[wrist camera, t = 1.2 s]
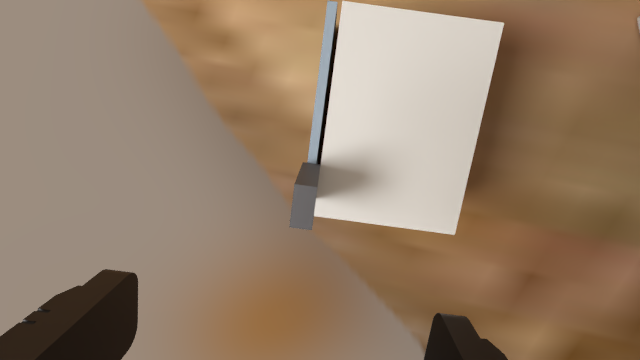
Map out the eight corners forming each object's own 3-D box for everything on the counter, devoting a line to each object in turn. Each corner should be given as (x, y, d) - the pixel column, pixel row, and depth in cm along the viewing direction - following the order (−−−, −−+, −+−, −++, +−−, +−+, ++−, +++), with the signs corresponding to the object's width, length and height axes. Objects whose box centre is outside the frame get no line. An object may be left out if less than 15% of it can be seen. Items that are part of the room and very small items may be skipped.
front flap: (325, 27, 32) (320, -32, 17) (338, 29, 32) (346, -29, 17) (306, 177, 35) (287, 244, 20) (318, 179, 35) (309, 247, 20)
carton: (339, 28, 32) (342, 0, 22) (451, 43, 32) (504, 22, 22) (318, 181, 35) (313, 215, 26) (420, 195, 35) (454, 234, 26)
